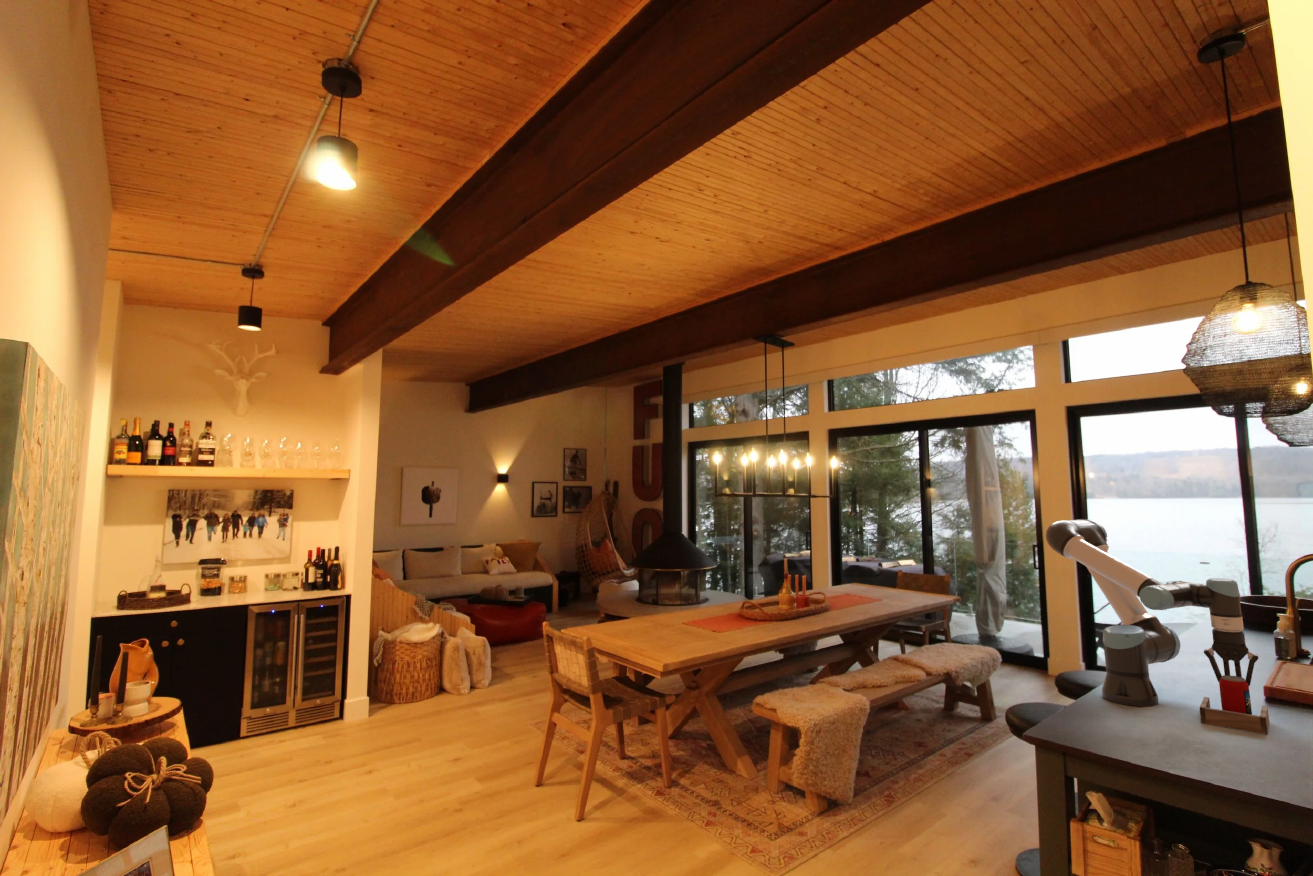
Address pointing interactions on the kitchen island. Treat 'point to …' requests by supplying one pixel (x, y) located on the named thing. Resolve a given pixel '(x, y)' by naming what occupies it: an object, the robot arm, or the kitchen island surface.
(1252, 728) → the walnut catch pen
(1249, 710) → the beverage can
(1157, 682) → the kitchen island surface
